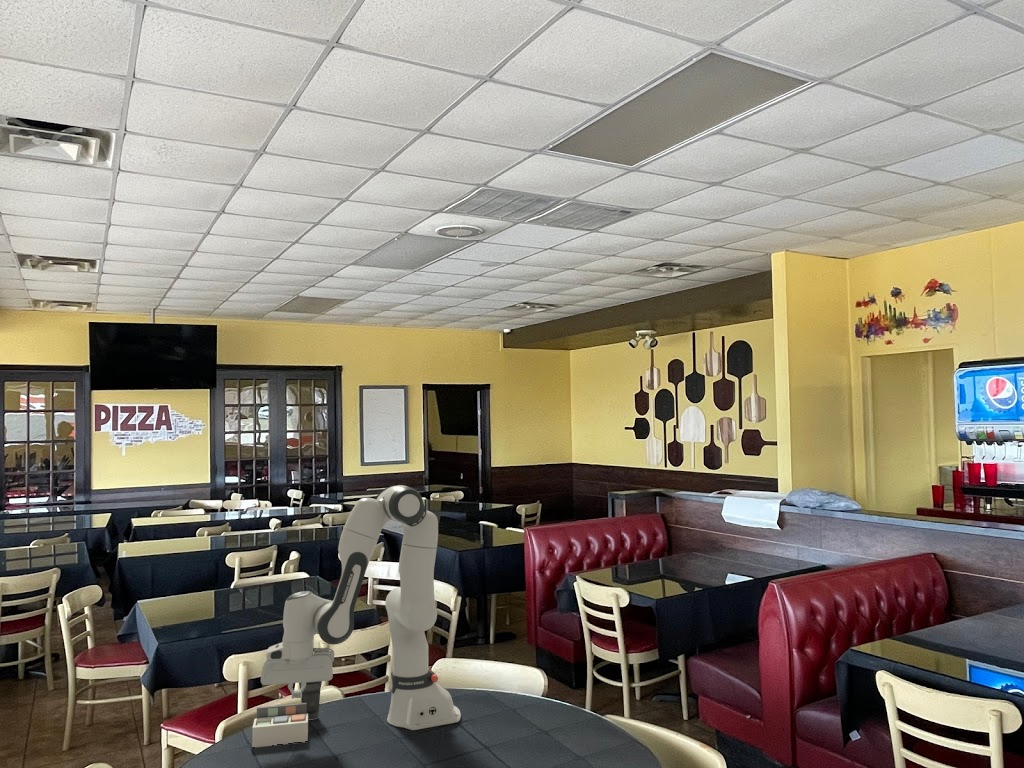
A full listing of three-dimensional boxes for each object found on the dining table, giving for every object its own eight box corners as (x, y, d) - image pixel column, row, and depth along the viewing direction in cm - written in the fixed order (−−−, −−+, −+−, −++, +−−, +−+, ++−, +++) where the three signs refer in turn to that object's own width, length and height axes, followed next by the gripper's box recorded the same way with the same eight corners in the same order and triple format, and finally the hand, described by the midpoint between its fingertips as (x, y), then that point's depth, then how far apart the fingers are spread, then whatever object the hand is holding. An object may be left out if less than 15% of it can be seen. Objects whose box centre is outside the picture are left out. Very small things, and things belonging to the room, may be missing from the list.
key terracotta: (304, 721, 222) (304, 714, 223) (304, 725, 219) (304, 718, 219) (291, 722, 222) (292, 715, 222) (291, 727, 218) (291, 719, 218)
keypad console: (308, 730, 226) (308, 702, 226) (307, 741, 217) (307, 713, 218) (255, 735, 222) (255, 707, 223) (252, 747, 214) (252, 718, 214)
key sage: (270, 728, 220) (270, 721, 220) (269, 733, 217) (269, 726, 217) (257, 729, 219) (257, 722, 219) (256, 734, 216) (256, 727, 216)
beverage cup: (315, 723, 231) (316, 656, 232) (293, 721, 232) (294, 655, 234) (326, 714, 238) (326, 649, 239) (304, 713, 240) (305, 648, 241)
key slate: (287, 722, 221) (287, 715, 221) (287, 727, 218) (287, 720, 218) (274, 724, 220) (274, 717, 220) (273, 728, 217) (274, 721, 217)
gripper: (334, 644, 227) (333, 691, 226) (262, 648, 222) (261, 696, 221) (334, 649, 221) (333, 698, 220) (261, 654, 216) (259, 704, 215)
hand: (296, 697), depth 220 cm, fingers closed
